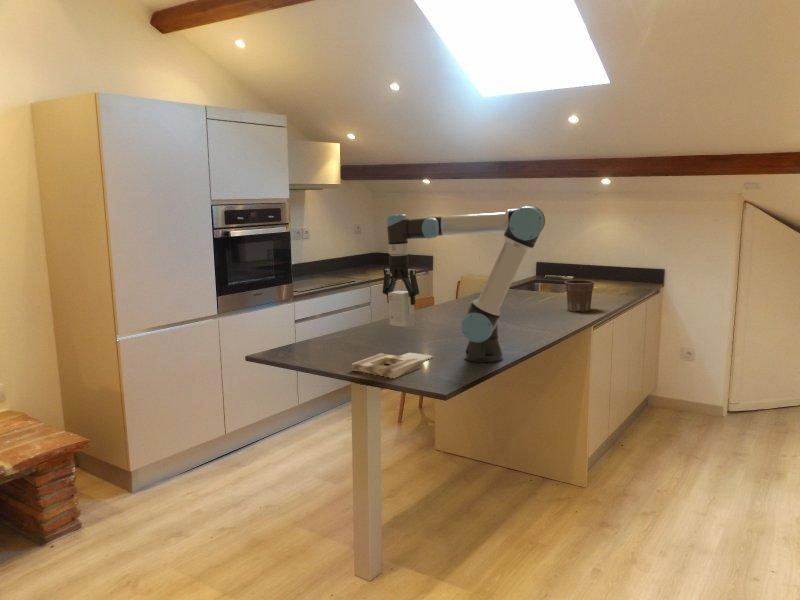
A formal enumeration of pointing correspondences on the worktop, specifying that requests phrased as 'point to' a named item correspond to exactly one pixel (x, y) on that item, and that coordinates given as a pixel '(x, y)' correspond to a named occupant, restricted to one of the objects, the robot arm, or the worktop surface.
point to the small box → (400, 309)
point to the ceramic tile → (417, 356)
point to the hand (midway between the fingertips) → (401, 312)
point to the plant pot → (579, 295)
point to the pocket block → (394, 370)
